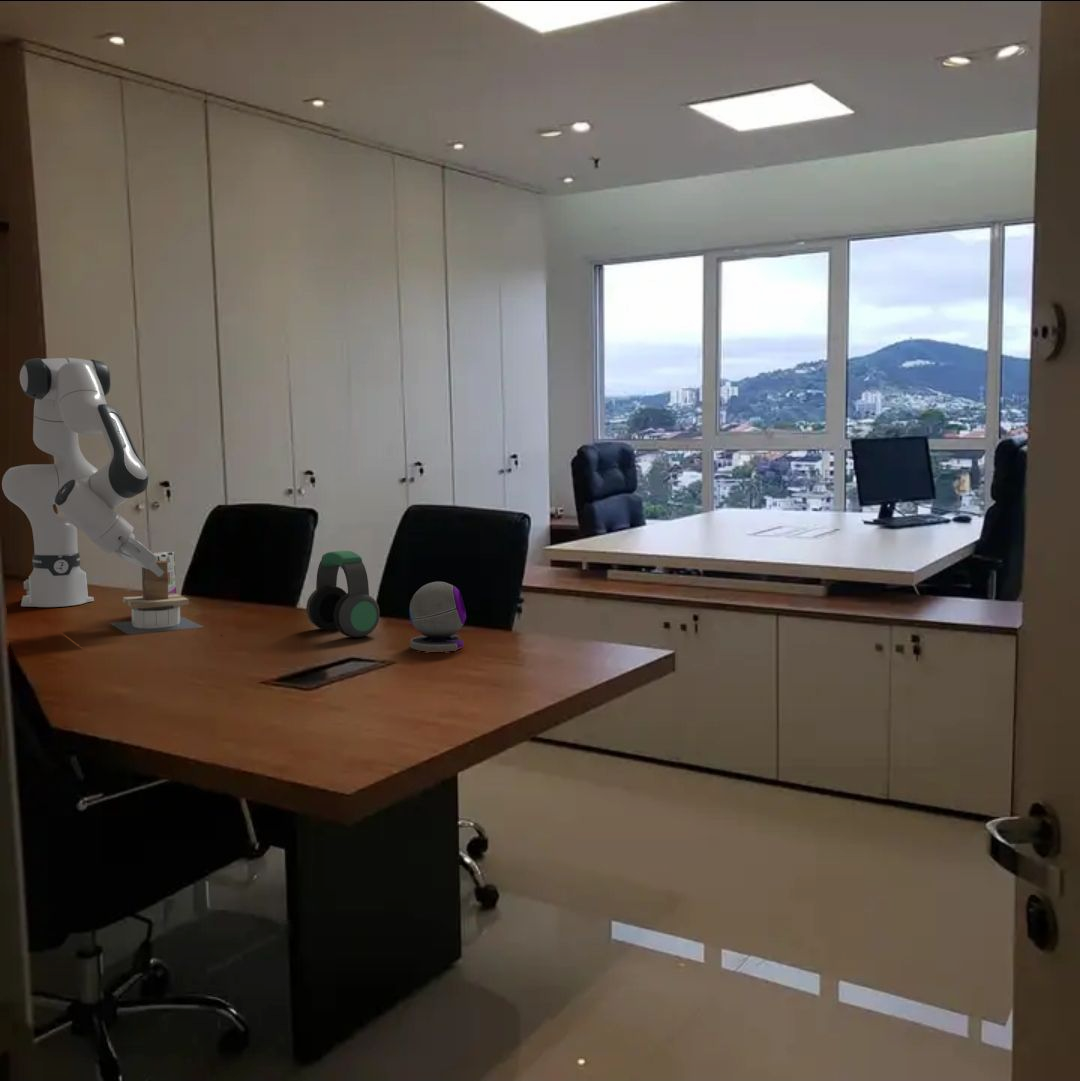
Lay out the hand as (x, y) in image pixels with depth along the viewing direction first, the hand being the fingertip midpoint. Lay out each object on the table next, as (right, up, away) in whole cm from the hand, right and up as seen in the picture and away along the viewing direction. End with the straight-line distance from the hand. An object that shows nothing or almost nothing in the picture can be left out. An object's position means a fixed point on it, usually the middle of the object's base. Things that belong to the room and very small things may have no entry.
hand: (157, 573), depth 264 cm
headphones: (+47, -15, -6) cm, 50 cm away
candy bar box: (-5, -12, +15) cm, 20 cm away
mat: (-1, -13, +1) cm, 13 cm away
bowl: (-1, -13, +1) cm, 13 cm away
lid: (-1, -7, 0) cm, 7 cm away
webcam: (+72, -16, -22) cm, 76 cm away
